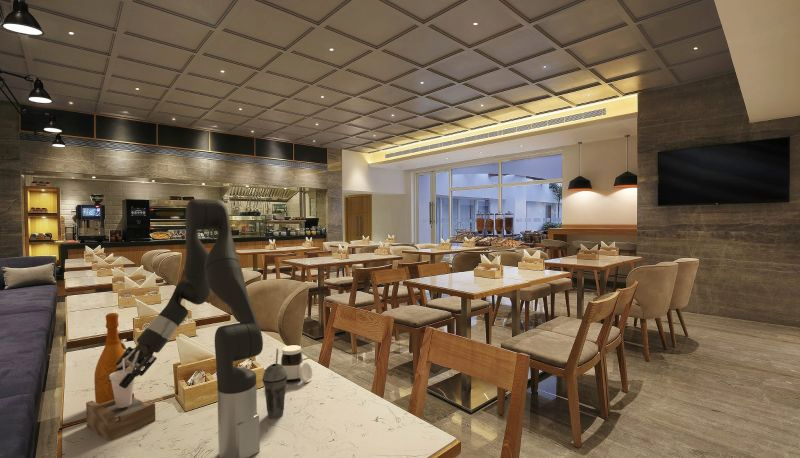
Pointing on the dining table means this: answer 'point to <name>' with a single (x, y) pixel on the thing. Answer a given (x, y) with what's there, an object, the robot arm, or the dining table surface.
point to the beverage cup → (275, 388)
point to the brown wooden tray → (118, 417)
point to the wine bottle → (108, 360)
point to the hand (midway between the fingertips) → (116, 384)
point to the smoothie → (121, 394)
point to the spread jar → (295, 365)
